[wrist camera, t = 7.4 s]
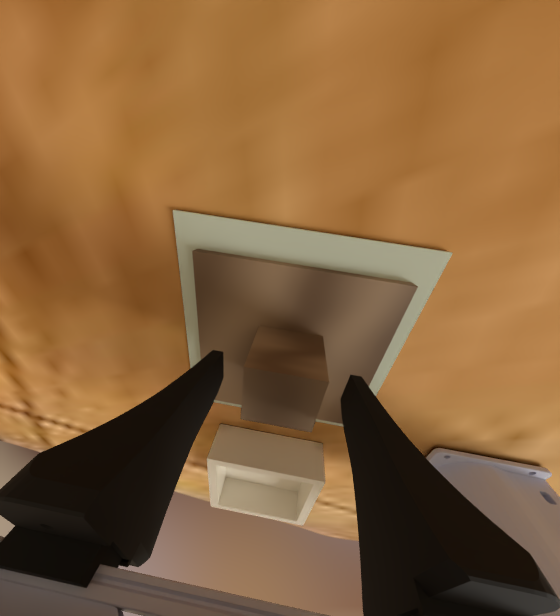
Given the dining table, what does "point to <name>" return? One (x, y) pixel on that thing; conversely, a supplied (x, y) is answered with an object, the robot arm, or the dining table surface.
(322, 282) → the lid
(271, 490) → the white square tray
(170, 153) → the dining table surface
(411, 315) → the beige flat square piece
